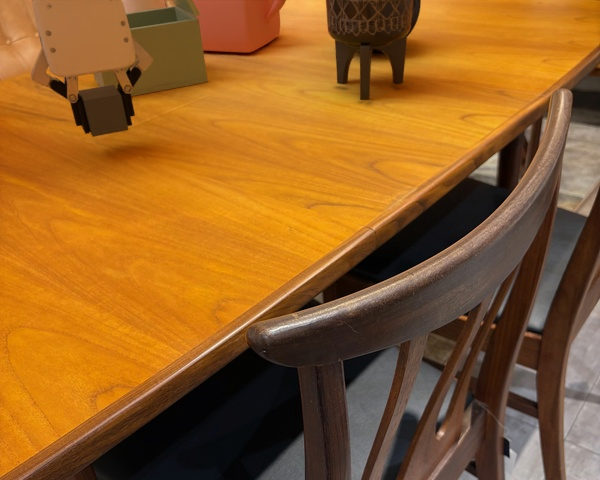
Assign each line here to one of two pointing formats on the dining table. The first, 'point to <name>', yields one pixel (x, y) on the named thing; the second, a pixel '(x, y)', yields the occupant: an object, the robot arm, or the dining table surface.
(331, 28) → the planter
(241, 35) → the teapot
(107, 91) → the block
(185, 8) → the lid
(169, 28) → the chest
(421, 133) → the dining table surface
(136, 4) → the mug
